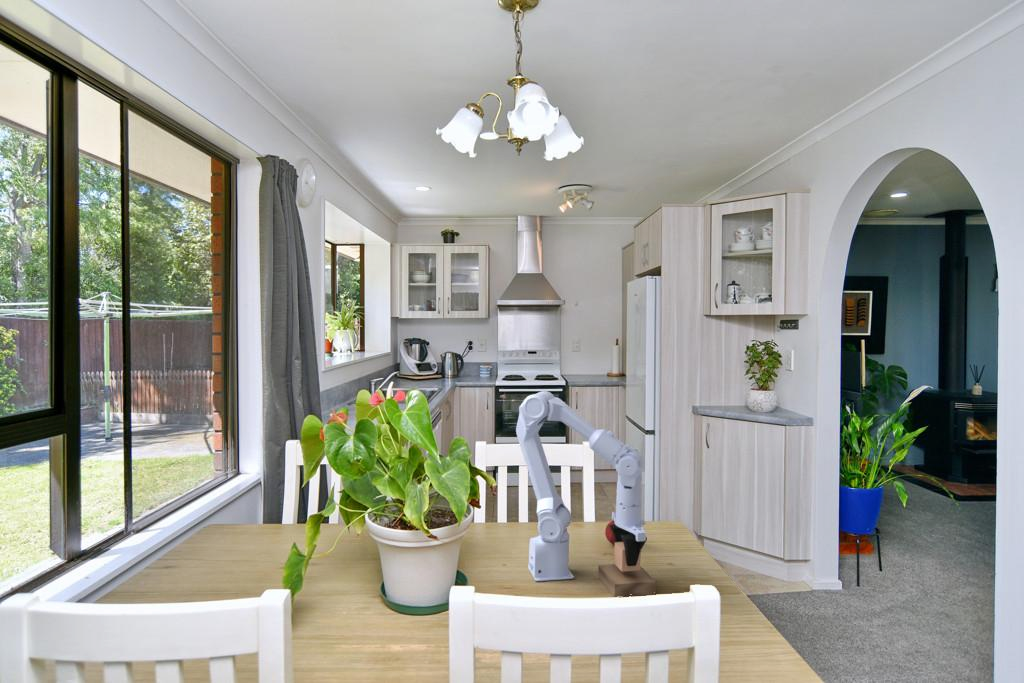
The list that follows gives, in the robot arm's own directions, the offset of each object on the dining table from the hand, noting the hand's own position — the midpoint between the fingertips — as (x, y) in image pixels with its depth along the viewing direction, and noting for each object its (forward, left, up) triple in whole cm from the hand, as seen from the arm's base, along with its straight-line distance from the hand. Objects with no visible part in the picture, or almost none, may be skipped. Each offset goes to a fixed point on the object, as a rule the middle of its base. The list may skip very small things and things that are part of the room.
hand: (626, 560), depth 127 cm
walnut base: (0, 0, -6) cm, 6 cm away
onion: (+7, +23, -6) cm, 25 cm away
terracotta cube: (0, 0, -1) cm, 1 cm away
